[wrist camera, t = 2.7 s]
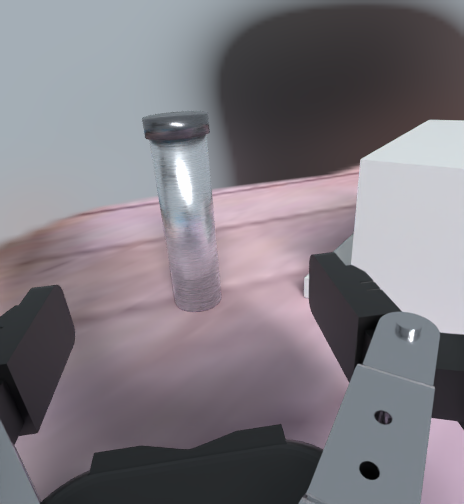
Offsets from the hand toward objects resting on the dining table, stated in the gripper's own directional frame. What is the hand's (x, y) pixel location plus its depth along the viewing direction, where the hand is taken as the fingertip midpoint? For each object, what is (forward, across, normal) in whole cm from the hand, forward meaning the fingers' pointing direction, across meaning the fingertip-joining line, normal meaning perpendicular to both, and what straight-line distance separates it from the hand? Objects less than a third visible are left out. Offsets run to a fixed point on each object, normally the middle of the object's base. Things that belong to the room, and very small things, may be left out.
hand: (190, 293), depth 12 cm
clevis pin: (+12, 0, +8) cm, 14 cm away
